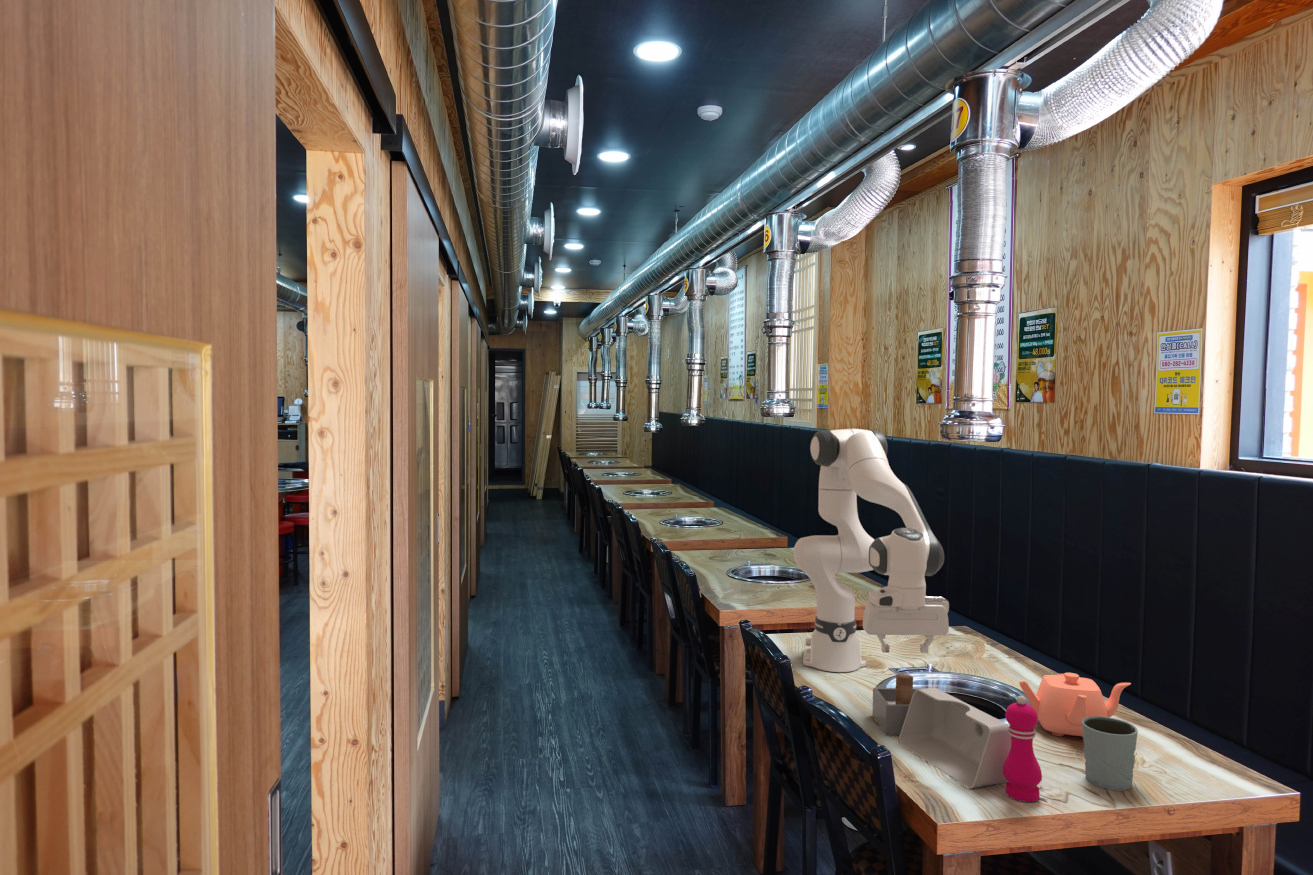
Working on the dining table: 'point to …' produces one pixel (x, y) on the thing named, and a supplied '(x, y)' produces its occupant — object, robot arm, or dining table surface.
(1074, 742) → the dining table surface
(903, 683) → the walnut peg
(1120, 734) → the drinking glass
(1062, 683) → the teapot
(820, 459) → the robot arm
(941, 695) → the beige storage bin
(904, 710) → the box
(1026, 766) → the pepper mill
